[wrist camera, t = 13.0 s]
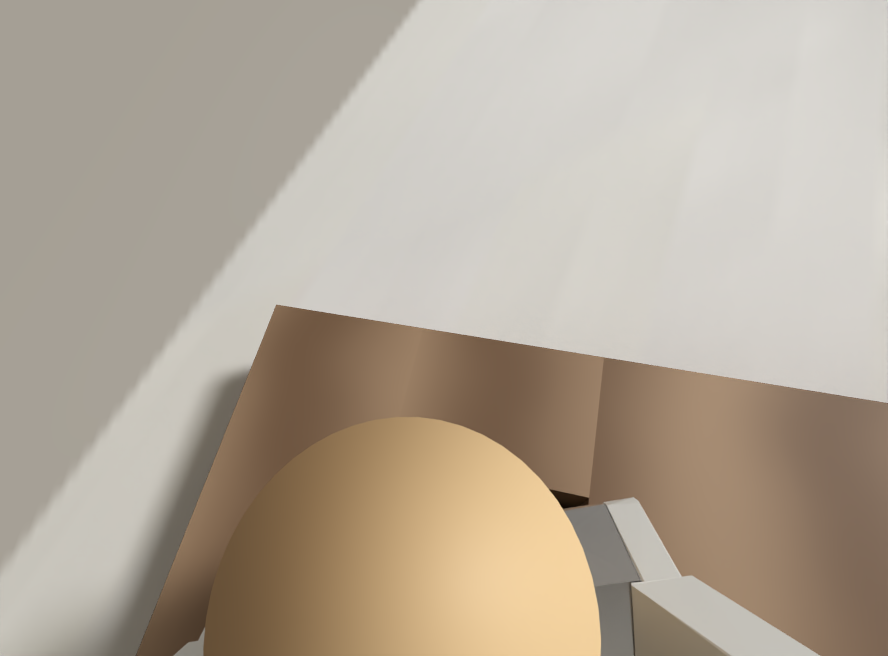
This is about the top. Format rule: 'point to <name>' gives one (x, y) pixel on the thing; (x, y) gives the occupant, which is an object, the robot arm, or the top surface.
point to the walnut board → (583, 462)
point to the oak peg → (404, 554)
